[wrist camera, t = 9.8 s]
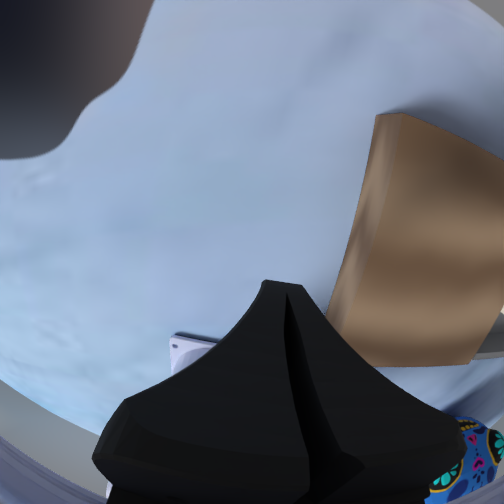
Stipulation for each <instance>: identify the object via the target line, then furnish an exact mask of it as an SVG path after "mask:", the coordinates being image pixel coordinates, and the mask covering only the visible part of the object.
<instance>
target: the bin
mask: <svg viewBox="0 0 504 504" xmlns="http://www.w3.org/2000/svg"><path fill="white" fill-rule="evenodd" d="M499 357H504V314H503V313H501V312H500V313H499V315H498V317H497V319H496V321H495V323H494V324H493V326H492V328H491V330H490V331H489V333H488V335H487V336H486V338H485V340H484V341H483V343H482V344H481V346H480V348H479V349H478V351H477V352H476V354H475V355H474V357H473V358H472V360H479V359H490V358H499Z"/></svg>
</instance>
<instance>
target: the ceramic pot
mask: <svg viewBox="0 0 504 504" xmlns="http://www.w3.org/2000/svg"><path fill="white" fill-rule="evenodd" d="M454 418H456V419H457V421H458V424H459V426H460V429H461V431H462V434H463V436H464V439H465V442H466V445H467V447H468V449H467V452H466V454H465V456H464V458H463V459H462V460H461V461H460V462H459V463H458V464H457V465H456V466H454V467H453V468H452V469H451V470H449V471H448V472H447V473H445V474H444V475H442V476H441V477H440V478H438V479H437V480H435V481H434V482H432V483H431V484H429V488H430V493H431V494H430V497H428V498H426V499H424V500H425V504H445V503H448V502H450V501H453V500H455V499H457V498H460V497H462V496H464V495H467V494H469V493H471V492H473V491H475V490H477V489H479V488H481V487H483V486H485V485H487V484H489V483H491V482H493V481H494V479H495V475H496V472H497V468H498V463H499V462H500V461H501V459H502V457H503V456H504V436H503V435H502V434H501V433H500V432H499V431H497V430H492V429H488V428H487V427H486V426H485V425H483V424H482V423H480V422H479V421H477V420H475V419H473V418H470V417H454Z"/></svg>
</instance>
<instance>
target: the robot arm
mask: <svg viewBox="0 0 504 504" xmlns="http://www.w3.org/2000/svg"><path fill="white" fill-rule="evenodd" d="M169 341H170V356H171V369H172V374H171V377H169V378H168V379H166V380H164V381H162V382H161V383H159V384H157V385H154V386H152V387H150V388H148V389H146V390H144V391H142V392H140V393H137V394H135V395H133V396H131V397H128V398H126V399H124V400H123V402H122V403H121V404H120V406H119V407H118V408H117V410H116V411H115V412H114V414H113V415H112V417H111V418H110V420H109V421H108V423H107V424H106V426H105V428H104V430H103V432H102V434H101V436H100V438H99V441H98V443H97V445H96V448H95V450H94V452H93V455H92V460H93V462H94V464H95V466H96V467H97V469H98V470H99V471H100V472H101V473H102V474H103V475H104V476H105V477H106V479H108V485H107V492H106V498H105V497H103V496H100V495H98V494H96V493H94V492H92V491H89V490H87V489H85V488H83V487H81V486H79V485H77V484H75V483H73V482H71V481H69V480H67V479H65V478H64V477H62V476H60V475H58V474H57V473H55V472H53V471H51V470H49V469H48V468H46V467H44V466H43V465H41V464H40V463H38V462H36V461H35V460H34V459H32V458H31V457H29V456H28V455H26V454H25V453H23V452H22V451H20V450H19V449H17V448H16V447H15V446H13V445H12V444H11V443H9V442H8V441H7V440H6V439H4V438H3V437H2V436H0V504H425V500H424V499H426V498H428V497H430V494H431V493H430V488H429V484H431V483H432V482H434V481H435V480H437V479H438V478H440V477H441V476H442V475H444V474H445V473H447V472H448V471H449V470H451V469H452V468H453V467H454V466H456V465H457V464H458V463H459V462H460V461H461V460H462V459H463V458H464V456H465V454H466V452H467V449H468V447H467V445H466V442H465V439H464V436H463V434H462V431H461V429H460V426H459V424H458V421H457V419H456V418H454V417H452V416H450V415H448V414H446V413H444V412H442V411H439V410H437V409H435V408H433V407H431V406H429V405H427V404H426V403H424V402H422V401H420V400H419V399H417V398H415V397H414V396H412V395H411V394H409V393H407V392H406V391H404V390H403V389H401V388H400V387H398V386H397V385H395V384H394V383H393V382H391V381H390V380H389V379H387V378H386V377H385V376H383V375H382V374H381V373H380V372H378V371H377V370H376V369H375V368H373V367H372V366H371V365H370V364H369V363H368V362H366V361H365V360H364V359H363V358H362V357H361V356H360V355H359V354H358V353H357V352H356V351H355V350H354V349H353V348H352V347H351V346H350V345H349V344H348V343H347V342H346V341H345V340H344V339H343V338H342V337H341V335H340V334H339V333H338V332H337V331H336V330H335V329H334V327H333V326H332V325H331V324H330V323H329V321H328V320H327V319H326V317H325V316H324V315H323V314H322V312H321V311H320V310H319V308H318V307H317V305H316V304H315V303H314V301H313V300H312V298H311V297H310V296H309V294H308V293H307V291H306V290H305V288H304V287H303V286H302V285H299V284H292V283H285V282H279V281H272V280H264V281H263V282H262V284H261V288H260V290H259V293H258V294H257V296H256V298H255V300H254V301H253V303H252V304H251V306H250V307H249V309H248V310H247V312H246V313H245V314H244V315H243V317H242V318H241V319H240V320H239V321H238V323H237V324H236V325H235V326H234V327H233V328H232V329H231V330H230V332H229V333H228V334H227V335H226V336H225V337H224V338H223V339H221V340H220V341H219V342H218V343H212V342H206V341H201V340H196V339H191V338H186V337H182V336H177V335H172V336H171V337H170V340H169ZM175 344H176V345H175ZM445 504H504V475H503V476H501V477H500V478H498V479H496V480H494V481H493V482H491V483H489V484H487V485H485V486H483V487H481V488H479V489H477V490H475V491H473V492H471V493H469V494H467V495H464V496H462V497H460V498H457V499H455V500H453V501H450V502H448V503H445Z"/></svg>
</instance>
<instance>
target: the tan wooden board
mask: <svg viewBox="0 0 504 504" xmlns="http://www.w3.org/2000/svg"><path fill="white" fill-rule="evenodd" d="M503 306H504V161H503V160H501V159H500V158H498V157H496V156H495V155H493V154H491V153H489V152H488V151H486V150H484V149H482V148H480V147H478V146H477V145H475V144H473V143H471V142H469V141H467V140H465V139H463V138H461V137H459V136H457V135H455V134H452V133H450V132H448V131H446V130H444V129H441V128H439V127H437V126H435V125H432V124H430V123H427V122H425V121H422V120H420V119H417V118H415V117H412V116H410V115H407V114H404V113H395V114H384V115H376V118H375V125H374V130H373V136H372V142H371V147H370V152H369V157H368V162H367V167H366V172H365V176H364V181H363V185H362V190H361V194H360V198H359V203H358V207H357V211H356V215H355V219H354V222H353V226H352V230H351V234H350V237H349V241H348V245H347V248H346V252H345V255H344V259H343V262H342V265H341V269H340V272H339V275H338V278H337V282H336V285H335V288H334V291H333V294H332V297H331V300H330V303H329V306H328V309H327V312H326V315H325V317H326V319H327V320H328V321H329V323H330V324H331V325H332V326H333V327H334V329H335V330H336V331H337V332H338V333H339V334H340V335H341V337H342V338H343V339H344V340H345V341H346V342H347V343H348V344H349V345H350V346H351V347H352V348H353V349H354V350H355V351H356V352H357V353H358V354H359V355H360V356H361V357H362V358H363V359H364V360H365V361H366V362H368V363H369V364H370V365H371V366H372V367H429V366H450V365H465V364H469V363H470V361H471V360H472V358H473V357H474V355H475V354H476V352H477V351H478V349H479V348H480V346H481V344H482V343H483V341H484V340H485V338H486V336H487V335H488V333H489V331H490V330H491V328H492V326H493V324H494V323H495V321H496V319H497V317H498V315H499V313H500V311H501V310H502V308H503Z"/></svg>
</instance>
